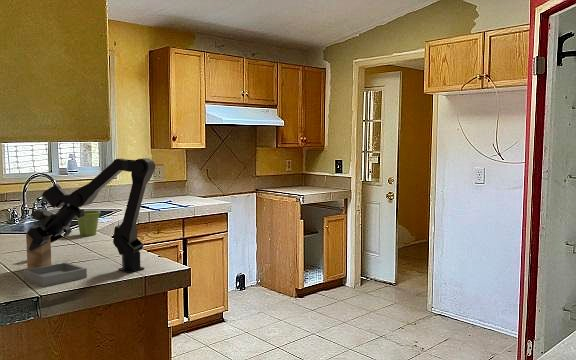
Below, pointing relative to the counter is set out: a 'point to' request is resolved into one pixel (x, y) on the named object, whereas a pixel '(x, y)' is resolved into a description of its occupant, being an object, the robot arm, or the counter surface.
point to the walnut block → (38, 254)
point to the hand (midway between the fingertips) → (35, 248)
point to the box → (55, 274)
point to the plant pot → (88, 223)
